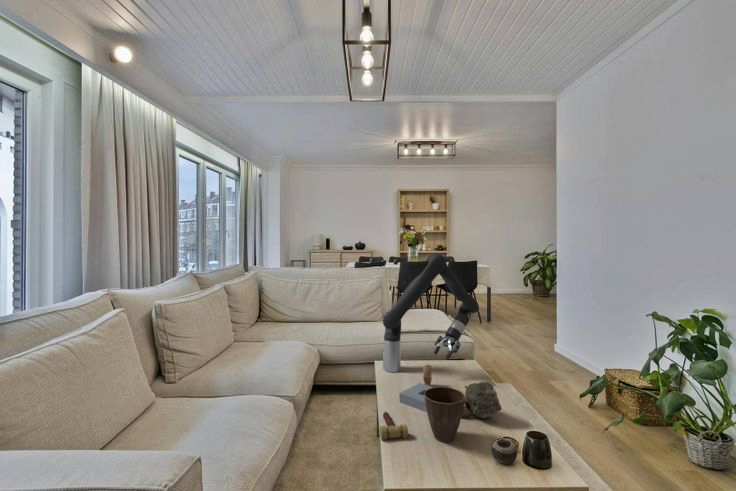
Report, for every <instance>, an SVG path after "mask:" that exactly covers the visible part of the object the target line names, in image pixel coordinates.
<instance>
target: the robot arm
mask: <svg viewBox="0 0 736 491" xmlns="http://www.w3.org/2000/svg"><path fill="white" fill-rule="evenodd" d="M438 276H440V277H441V279H442V280H443V281H444V284H446V286H447V288H448V289H449V291H450V292H451V294H452V295H453V297H454V298H455V299H456V300H457V301H458V302H462V303H460V305H459V308H458V312H457V315H456V316H455V317H454V320H453V321H452V322H451V323H450V325H449V327H448V328H447V330H446V331H445V334H444V337H443V336H442V335H439V336H438V337H437V339H436V340H435V342H434V346H435V348H434V349H433V354H434V355H435V356H436V355H438V353H439V351H440V350H441V349H442V348H444V347H446V348H449V350H448V351H447V353H446V354H445V356H444V357H445V358H446V359H447V360H448V359H450V358H451V356H452V354H457V353H458V351H459V349H460V348H461V346H462V343H461V342H460V339H461V336H462V335H463V333H464V332H465V329H466V327H467V325H468V324H469V322H470V316H469V314H476V313H478V312H479V310H480V305H479V303H478V301H477V300H476V299H475V298H474V297H473V296H472V295H471V294H470V293H469V292H468V291H467V290H466V289H465V287H464V286H463V285H462V283H461V282H460V281H459V279H458V278H457V277H456V275H455V274H454V273H453V271H452V270H451V269H450V267H449V265H448V264H447V259H446V258H445V256H444V255H443V254H442V253H439V252H434V253H431V254H430V256H429V257H428V263H427V265H426V266H425V268H424V270H423V271H422V272H421V273H420V274H419V275H417V276H416V277H415V278H414V279H413V280H412V281H411V282H410V283H409V284H408V285H407V287H406V288H405V289H404V291H403V292H402V294H401V295H400V296H399V298H398V299H397V301H396V303H395V304H394V305H393V307H392V308H391V309H390V310H389V311H388V312H387V313H386V314H385V315H384V316H383V319H382V324H383V326H384V328H385V330H384V334H383V335H384V336H383V341H384V342H383V344H384V345H383V348H384V349H383V351H384V352H382V368H383V370H384V371H385V372H386V373H387V372H388V373H398V372H400V371H401V369H402V368H401V367H402V366H401V361H402V360H401V359H402V358H401V336H402V319H403V317H404V316H405V314H406V313H407V312H408V311H409V310H410V309H412V307H413V306H414V305H415V304H417V302H418V301H419V300H420V299H421V297H422V296H423V295H424V294H425V292H426V291H427V289H428V288H429V287H430V286H431V283H433V281H434V280H435V278H437V277H438Z"/></svg>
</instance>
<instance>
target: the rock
mask: <svg viewBox="0 0 736 491" xmlns="http://www.w3.org/2000/svg"><path fill="white" fill-rule="evenodd" d="M464 388H465V393H464V396H465V400H464V406H463V412H462V417H461V418H464V417H467V416H468V415H474V416H475V417H476V418H479V419H486V418H493V416H496V415H497V414H498V412H500V411H501V410H502V409H503V408H502V405H501V404H500V399H499V398H498V393H497V391H496V389H495V388H494V386H493V384H492V383H489V382H488V381H485V382H483V381H481V382H476V383H475V382H473V383H469V385H467V386H466V385H464Z"/></svg>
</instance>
